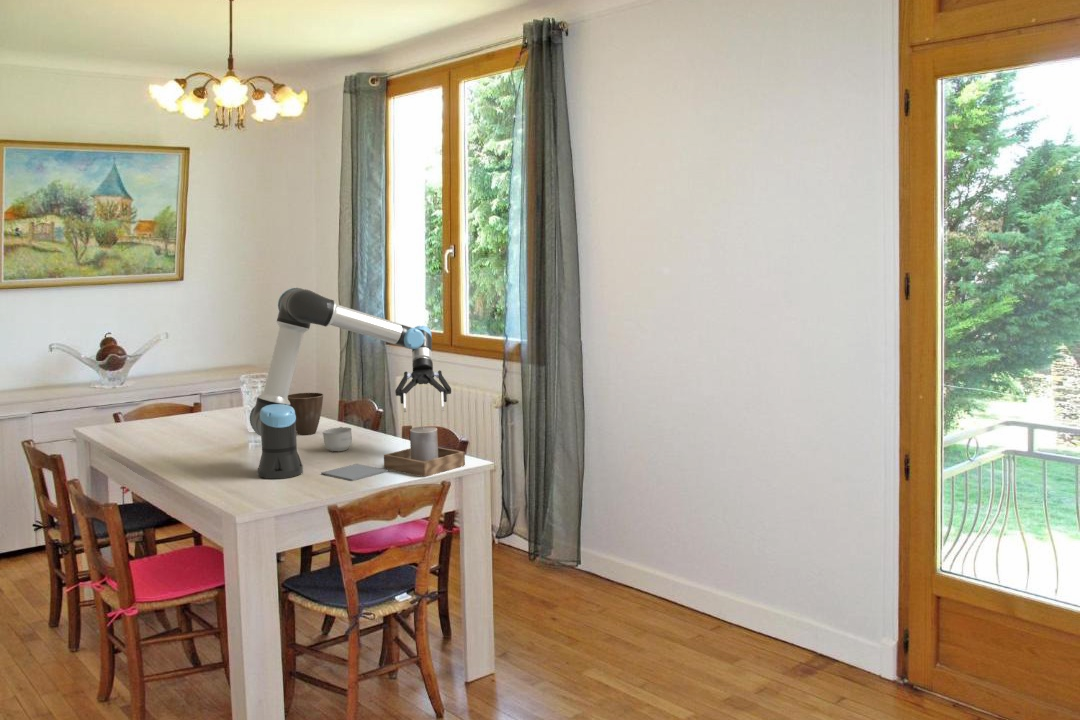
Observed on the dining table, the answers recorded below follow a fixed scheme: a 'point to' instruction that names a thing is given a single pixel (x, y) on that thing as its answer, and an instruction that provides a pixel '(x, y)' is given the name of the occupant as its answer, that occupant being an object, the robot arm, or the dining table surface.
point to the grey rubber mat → (354, 472)
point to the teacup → (337, 438)
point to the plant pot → (306, 411)
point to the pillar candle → (424, 443)
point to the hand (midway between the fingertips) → (423, 409)
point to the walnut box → (405, 464)
